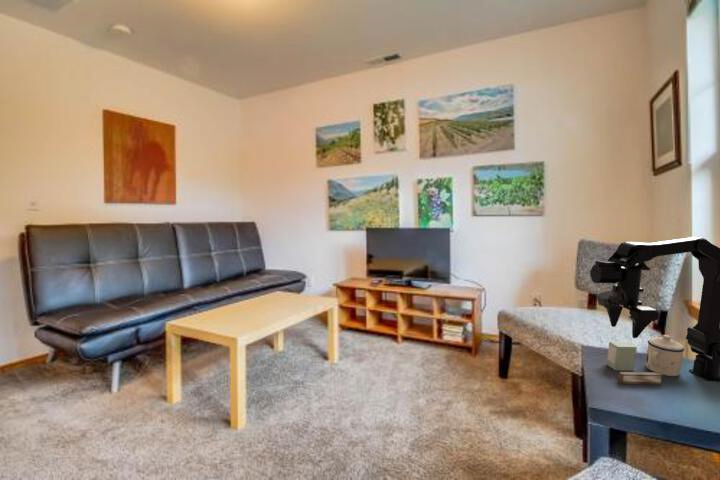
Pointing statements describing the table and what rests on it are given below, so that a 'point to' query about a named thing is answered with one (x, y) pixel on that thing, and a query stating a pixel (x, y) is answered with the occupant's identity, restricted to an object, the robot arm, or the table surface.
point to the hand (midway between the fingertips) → (623, 332)
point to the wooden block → (639, 378)
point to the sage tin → (621, 356)
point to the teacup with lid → (664, 356)
